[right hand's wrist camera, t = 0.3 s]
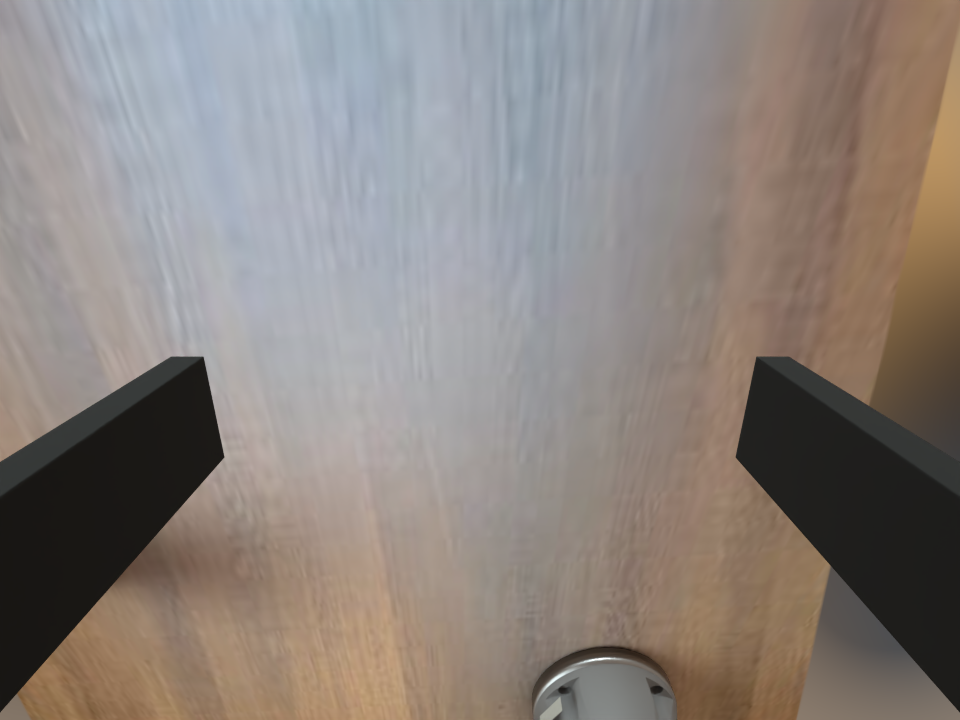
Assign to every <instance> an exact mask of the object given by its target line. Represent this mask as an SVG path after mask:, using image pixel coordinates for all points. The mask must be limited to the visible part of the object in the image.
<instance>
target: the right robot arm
mask: <svg viewBox="0 0 960 720" xmlns="http://www.w3.org/2000/svg"><path fill="white" fill-rule="evenodd" d="M223 458H224V453H223V448H222V443H221V439H220V434H219V429H218V424H217V419H216V415H215V410H214V405H213V400H212V395H211V390H210V386H209V381H208V376H207V371H206V366H205V362H204V357H170V358H168V359H167V360H165V361H163V362H162V363H160V364H159V365H157V366H155V367H154V368H152V369H150V370H149V371H147V372H146V373H144V374H142V375H141V376H139V377H137V378H136V379H134V380H133V381H131V382H129V383H128V384H126V385H125V386H123V387H121V388H120V389H118V390H116V391H115V392H113V393H112V394H110V395H108V396H107V397H105V398H103V399H102V400H100V401H99V402H97V403H95V404H94V405H92V406H90V407H89V408H87V409H86V410H84V411H82V412H81V413H79V414H77V415H76V416H74V417H73V418H71V419H69V420H68V421H66V422H64V423H63V424H61V425H60V426H58V427H56V428H55V429H53V430H51V431H50V432H48V433H47V434H45V435H43V436H42V437H40V438H38V439H37V440H35V441H34V442H32V443H30V444H29V445H27V446H25V447H24V448H22V449H21V450H19V451H17V452H16V453H14V454H12V455H11V456H9V457H8V458H6V459H4V460H3V461H1V462H0V712H1V711H2V710H3V709H4V707H5V706H6V705H7V704H8V703H9V702H10V701H11V699H12V698H13V697H14V696H15V695H16V694H17V693H18V691H19V690H20V689H21V688H22V687H23V686H24V685H25V684H26V682H27V681H28V680H29V679H30V678H31V677H32V676H33V674H34V673H35V672H36V671H37V670H38V669H39V668H40V666H41V665H42V664H43V663H44V662H45V661H46V660H47V659H48V657H49V656H50V655H51V654H52V653H53V652H54V651H55V649H56V648H57V647H58V646H59V645H60V644H61V643H62V641H63V640H64V639H65V638H66V637H67V636H68V635H69V633H70V632H71V631H72V630H73V629H74V628H75V627H76V626H77V624H78V623H79V622H80V621H81V620H82V619H83V618H84V616H85V615H86V614H87V613H88V612H89V611H90V610H91V608H92V607H93V606H94V605H95V604H96V603H97V602H98V600H99V599H100V598H101V597H102V596H103V595H104V594H105V593H106V591H107V590H108V589H109V588H110V587H111V586H112V585H113V583H114V582H115V581H116V580H117V579H118V578H119V577H120V575H121V574H122V573H123V572H124V571H125V570H126V569H127V568H128V566H129V565H130V564H131V563H132V562H133V561H134V560H135V558H136V557H137V556H138V555H139V554H140V553H141V552H142V550H143V549H144V548H145V547H146V546H147V545H148V544H149V542H150V541H151V540H152V539H153V538H154V537H155V536H156V535H157V533H158V532H159V531H160V530H161V529H162V528H163V527H164V525H165V524H166V523H167V522H168V521H169V520H170V519H171V517H172V516H173V515H174V514H175V513H176V512H177V511H178V509H179V508H180V507H181V506H182V505H183V504H184V503H185V502H186V500H187V499H188V498H189V497H190V496H191V495H192V494H193V492H194V491H195V490H196V489H197V488H198V487H199V486H200V484H201V483H202V482H203V481H204V480H205V479H206V478H207V477H208V475H209V474H210V473H211V472H212V471H213V470H214V469H215V467H216V466H217V465H218V464H219V463H220V462H221V461H222V459H223ZM736 458H737V459H738V461H739V462H740V463H741V464H742V465H743V466H744V467H745V469H746V470H747V471H748V472H749V473H750V474H751V475H752V477H753V478H754V479H755V480H756V481H757V482H758V483H759V484H760V486H761V487H762V488H763V489H764V490H765V491H766V492H767V494H768V495H769V496H770V497H771V498H772V499H773V500H774V502H775V503H776V504H777V505H778V506H779V507H780V508H781V509H782V511H783V512H784V513H785V514H786V515H787V516H788V517H789V519H790V520H791V521H792V522H793V523H794V524H795V525H796V527H797V528H798V529H799V530H800V531H801V532H802V533H803V535H804V536H805V537H806V538H807V539H808V540H809V541H810V542H811V544H812V545H813V546H814V547H815V548H816V549H817V550H818V552H819V553H820V554H821V555H822V556H823V557H824V558H825V560H826V561H827V562H828V563H829V564H830V565H831V566H832V567H833V569H834V570H835V571H836V572H837V573H838V574H839V575H840V577H841V578H842V579H843V580H844V581H845V582H846V583H847V585H848V586H849V587H850V588H851V589H852V590H853V591H854V593H855V594H856V595H857V596H858V597H859V598H860V599H861V600H862V602H863V603H864V604H865V605H866V606H867V607H868V608H869V610H870V611H871V612H872V613H873V614H874V615H875V616H876V618H877V619H878V620H879V621H880V622H881V623H882V624H883V625H884V627H885V628H886V629H887V630H888V631H889V632H890V633H891V635H892V636H893V637H894V638H895V639H896V640H897V641H898V643H899V644H900V645H901V646H902V647H903V648H904V649H905V651H906V652H907V653H908V654H909V655H910V656H911V657H912V658H913V660H914V661H915V662H916V663H917V664H918V665H919V666H920V668H921V669H922V670H923V671H924V672H925V673H926V674H927V676H928V677H929V678H930V679H931V680H932V681H933V682H934V684H935V685H936V686H937V687H938V688H939V689H940V690H941V691H942V693H943V694H944V695H945V696H946V697H947V698H948V699H949V701H950V702H951V703H952V704H953V705H954V706H955V707H956V709H957V710H958V711H959V712H960V462H959V461H957V460H956V459H954V458H952V457H951V456H949V455H948V454H946V453H944V452H943V451H941V450H939V449H938V448H936V447H935V446H933V445H931V444H930V443H928V442H926V441H925V440H923V439H922V438H920V437H918V436H917V435H915V434H913V433H912V432H910V431H909V430H907V429H905V428H904V427H902V426H900V425H899V424H897V423H896V422H894V421H892V420H891V419H889V418H887V417H886V416H884V415H883V414H881V413H879V412H878V411H876V410H874V409H873V408H871V407H870V406H868V405H866V404H865V403H863V402H861V401H860V400H858V399H857V398H855V397H853V396H852V395H850V394H848V393H847V392H845V391H844V390H842V389H840V388H839V387H837V386H835V385H834V384H832V383H831V382H829V381H827V380H826V379H824V378H823V377H821V376H819V375H818V374H816V373H814V372H813V371H811V370H810V369H808V368H806V367H805V366H803V365H801V364H800V363H798V362H797V361H795V360H793V359H792V358H790V357H756V362H755V366H754V371H753V376H752V381H751V386H750V390H749V395H748V400H747V405H746V410H745V415H744V419H743V424H742V429H741V434H740V439H739V443H738V448H737V453H736ZM532 709H533V719H534V720H677V703H676V699H675V695H674V693H673V690H672V687H671V685H670V682H669V679H668V677H667V675H666V674H665V672H664V671H663V669H662V668H661V667H660V666H659V665H658V664H657V663H655V662H654V661H653V660H651V659H650V658H648V657H646V656H644V655H642V654H639V653H637V652H634V651H630V650H625V649H619V648H596V649H589V650H584V651H580V652H577V653H574V654H571V655H569V656H567V657H565V658H563V659H561V660H559V661H557V662H556V663H554V664H553V665H552V666H550V667H549V668H548V669H547V670H546V671H545V672H544V673H543V674H542V675H541V677H540V678H539V679H538V681H537V683H536V685H535V687H534V690H533V694H532Z"/></svg>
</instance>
